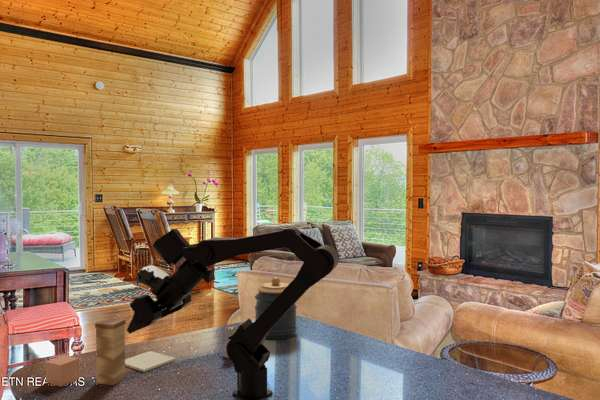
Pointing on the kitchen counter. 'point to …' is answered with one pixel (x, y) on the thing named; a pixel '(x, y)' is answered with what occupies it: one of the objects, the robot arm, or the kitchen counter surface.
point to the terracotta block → (62, 370)
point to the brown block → (110, 350)
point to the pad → (148, 361)
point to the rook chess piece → (229, 332)
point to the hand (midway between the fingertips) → (139, 326)
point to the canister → (264, 299)
